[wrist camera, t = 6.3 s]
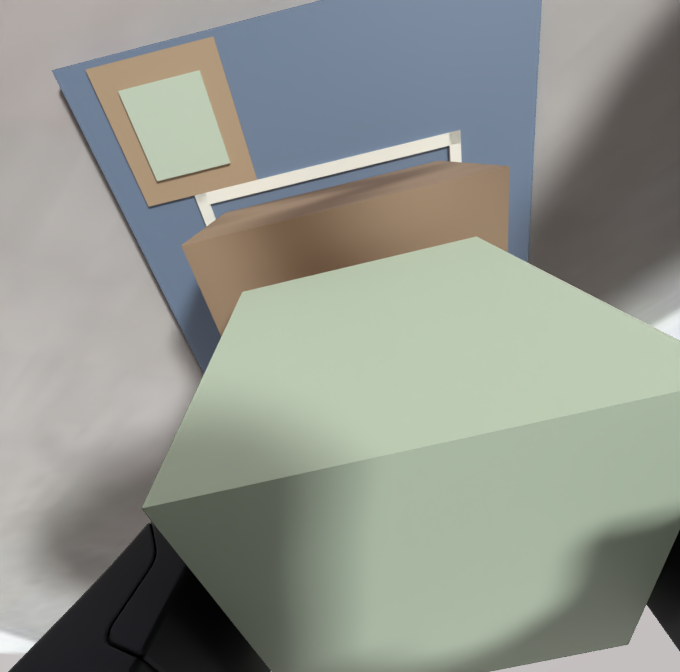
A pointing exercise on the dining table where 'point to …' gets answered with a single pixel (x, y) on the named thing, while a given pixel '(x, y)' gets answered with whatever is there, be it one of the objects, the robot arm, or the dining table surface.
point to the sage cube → (428, 467)
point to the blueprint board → (305, 116)
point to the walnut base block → (347, 228)
